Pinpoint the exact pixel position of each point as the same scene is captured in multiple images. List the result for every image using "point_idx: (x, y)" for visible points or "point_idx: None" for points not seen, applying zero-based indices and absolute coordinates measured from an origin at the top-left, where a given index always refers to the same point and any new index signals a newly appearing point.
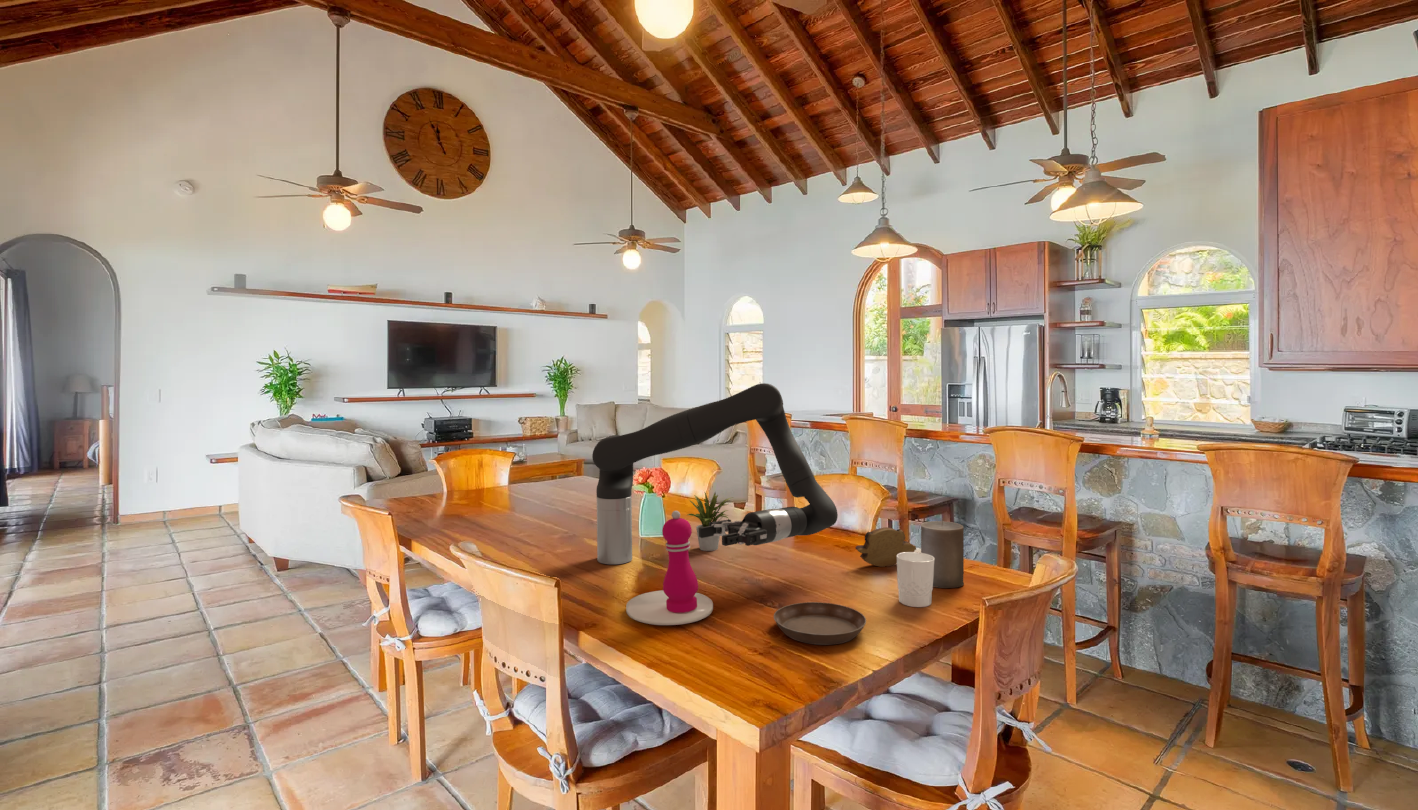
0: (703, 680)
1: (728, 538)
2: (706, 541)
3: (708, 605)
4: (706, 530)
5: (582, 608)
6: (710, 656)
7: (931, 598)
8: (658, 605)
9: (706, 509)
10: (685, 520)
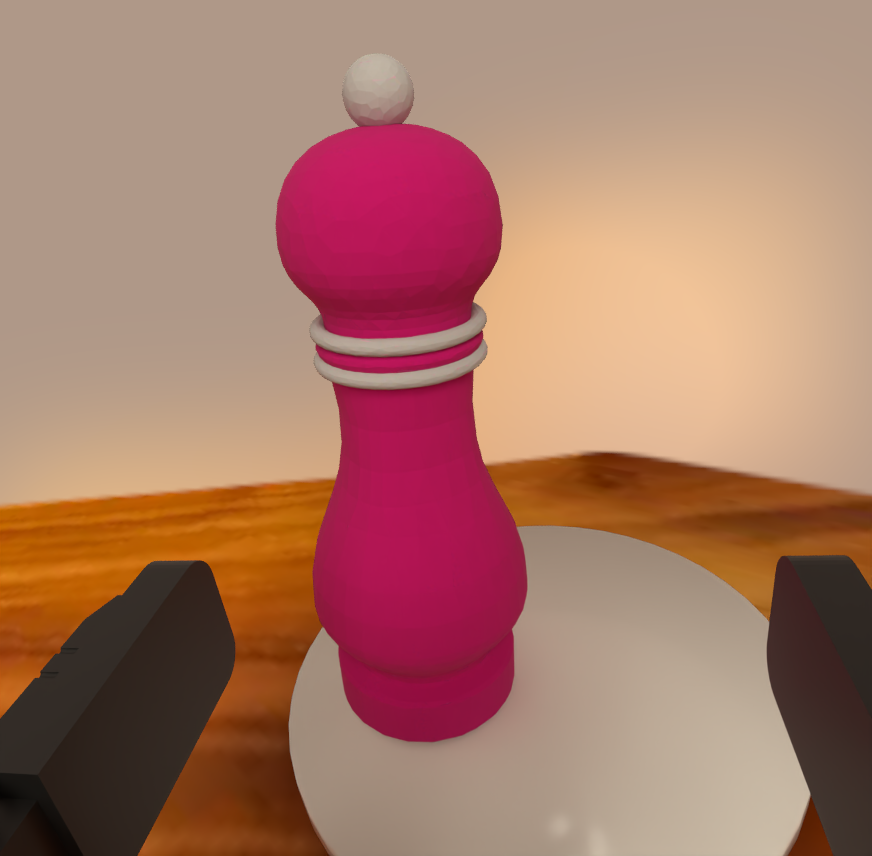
0: (63, 527)
1: (106, 610)
2: None
3: (346, 815)
4: (821, 685)
5: (802, 500)
6: (100, 598)
7: None
8: (554, 624)
9: None
10: (315, 151)
